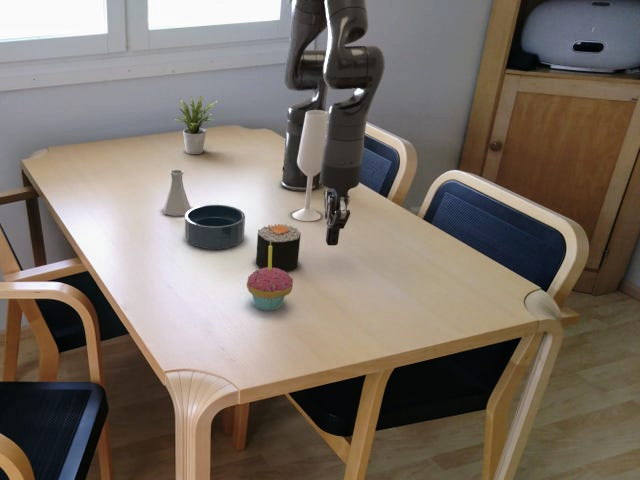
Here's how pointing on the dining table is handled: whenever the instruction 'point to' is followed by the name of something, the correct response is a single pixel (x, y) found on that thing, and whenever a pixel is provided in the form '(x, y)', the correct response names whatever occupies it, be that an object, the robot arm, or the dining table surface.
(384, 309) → the dining table surface
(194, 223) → the bowl
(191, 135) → the house plant
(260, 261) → the sushi
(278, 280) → the cupcake
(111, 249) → the dining table surface
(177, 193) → the flask
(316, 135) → the champagne flute
